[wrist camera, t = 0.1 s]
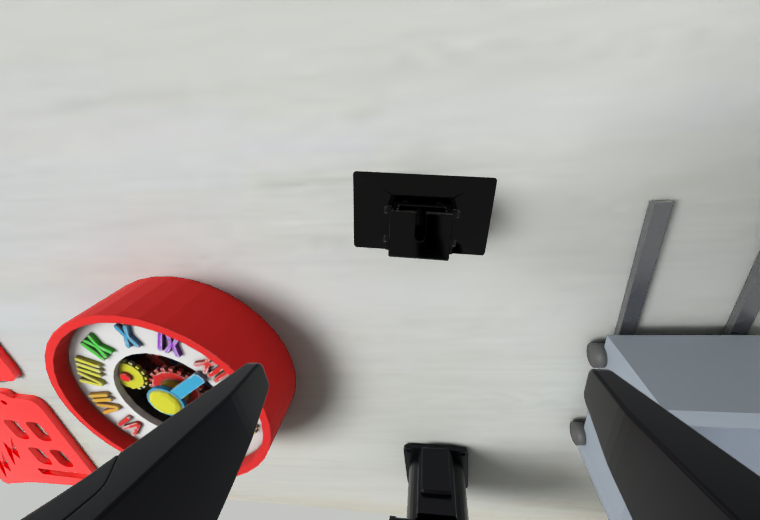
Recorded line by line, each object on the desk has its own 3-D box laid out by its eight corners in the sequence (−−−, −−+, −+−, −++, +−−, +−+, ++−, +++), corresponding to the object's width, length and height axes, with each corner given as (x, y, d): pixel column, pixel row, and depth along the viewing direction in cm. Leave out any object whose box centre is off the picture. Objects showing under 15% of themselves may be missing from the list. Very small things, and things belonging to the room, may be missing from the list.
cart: (712, 445, 27) (798, 550, 21) (566, 438, 29) (605, 531, 23) (777, 325, 22) (922, 419, 15) (591, 326, 24) (651, 409, 17)
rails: (684, 445, 28) (689, 451, 28) (586, 440, 29) (588, 445, 29) (807, 190, 18) (817, 192, 18) (649, 200, 19) (654, 203, 19)
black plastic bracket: (523, 164, 20) (547, 180, 16) (501, 266, 23) (517, 300, 19) (333, 157, 21) (311, 169, 17) (338, 253, 25) (320, 283, 21)
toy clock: (12, 382, 28) (107, 265, 20) (77, 338, 33) (172, 232, 26) (190, 498, 34) (319, 440, 26) (222, 444, 39) (337, 383, 31)
